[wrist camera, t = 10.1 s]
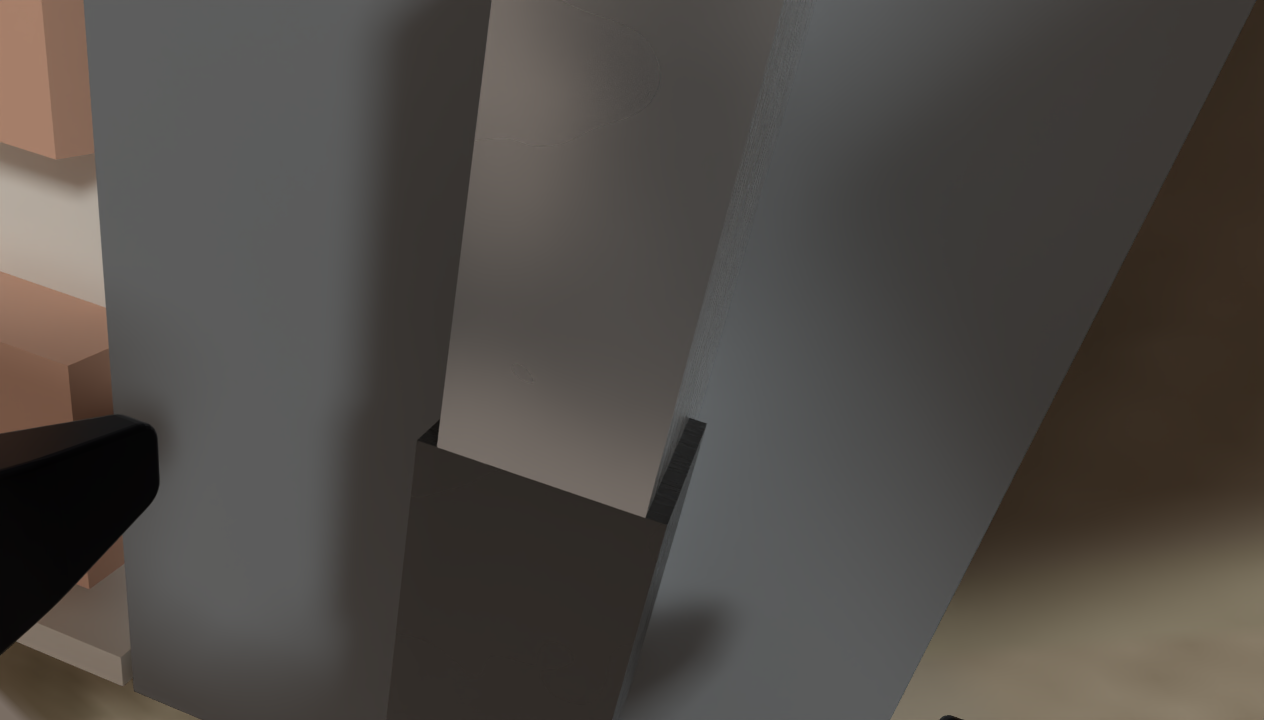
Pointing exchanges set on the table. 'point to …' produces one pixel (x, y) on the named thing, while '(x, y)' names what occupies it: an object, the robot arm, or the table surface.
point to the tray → (72, 264)
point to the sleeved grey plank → (582, 343)
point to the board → (743, 365)
